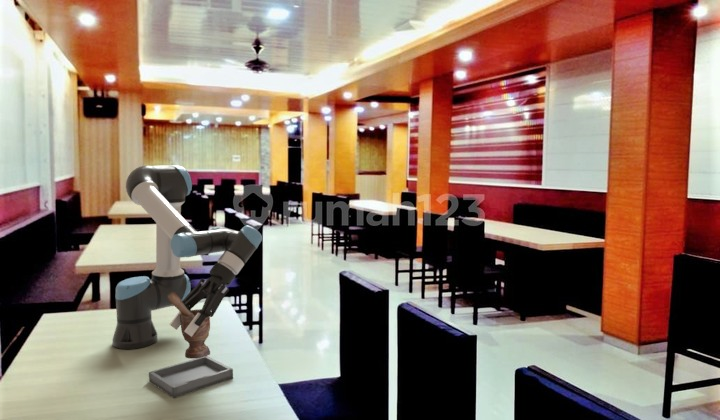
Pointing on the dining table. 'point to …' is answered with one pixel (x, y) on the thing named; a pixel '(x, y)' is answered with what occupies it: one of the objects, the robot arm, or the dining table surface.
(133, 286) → the robot arm
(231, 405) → the dining table surface
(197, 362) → the tray
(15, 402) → the dining table surface
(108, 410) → the dining table surface
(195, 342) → the mortar and pestle
